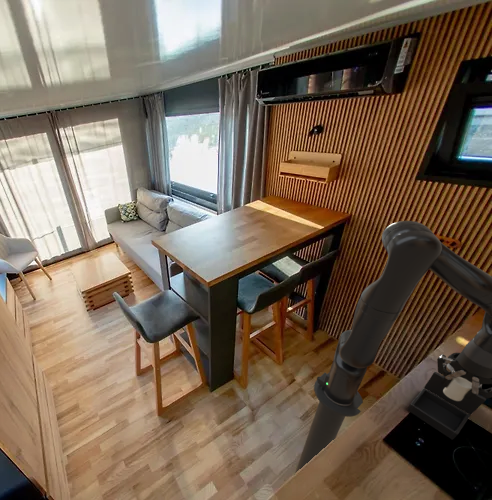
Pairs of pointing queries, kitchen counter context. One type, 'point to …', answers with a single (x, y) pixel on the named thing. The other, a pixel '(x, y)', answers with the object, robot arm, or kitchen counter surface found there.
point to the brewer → (438, 413)
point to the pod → (457, 388)
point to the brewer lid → (465, 404)
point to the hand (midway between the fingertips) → (455, 390)
